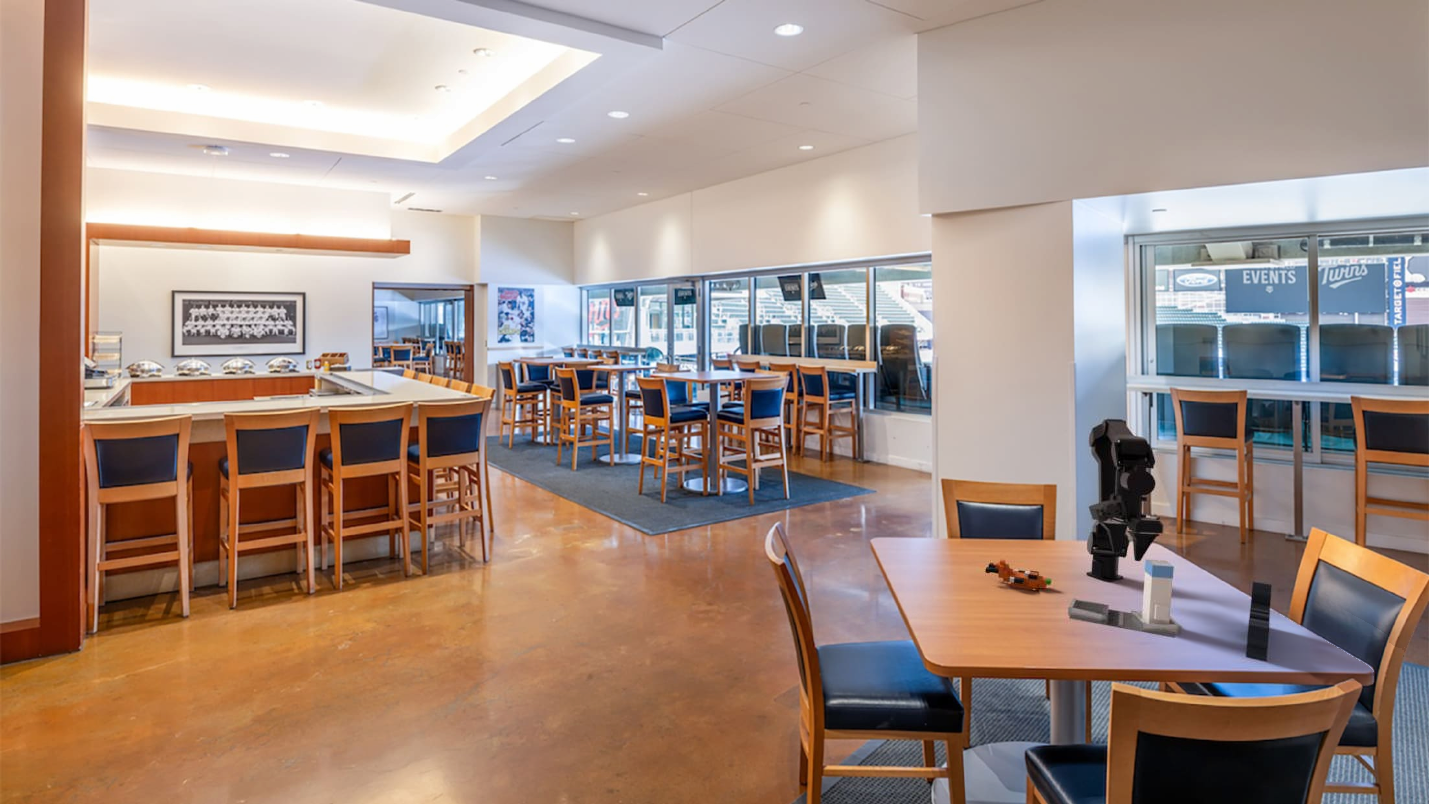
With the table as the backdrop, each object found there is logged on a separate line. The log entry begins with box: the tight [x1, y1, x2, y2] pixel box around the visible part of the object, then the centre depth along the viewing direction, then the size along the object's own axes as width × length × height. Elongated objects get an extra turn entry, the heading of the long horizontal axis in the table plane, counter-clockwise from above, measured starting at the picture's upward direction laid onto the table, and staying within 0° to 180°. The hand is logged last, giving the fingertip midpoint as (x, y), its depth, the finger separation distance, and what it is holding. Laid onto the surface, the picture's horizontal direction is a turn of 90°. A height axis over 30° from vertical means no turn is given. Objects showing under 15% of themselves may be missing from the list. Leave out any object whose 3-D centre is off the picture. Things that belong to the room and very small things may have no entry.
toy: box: [984, 558, 1052, 591], centre depth 185 cm, size 8×6×15 cm
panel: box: [1069, 607, 1176, 639], centre depth 162 cm, size 20×11×1 cm, turn 60°
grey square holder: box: [1067, 598, 1110, 622], centre depth 166 cm, size 7×7×2 cm
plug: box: [1141, 559, 1175, 624], centre depth 158 cm, size 5×4×14 cm
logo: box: [1245, 581, 1272, 662], centre depth 152 cm, size 24×3×10 cm, turn 142°
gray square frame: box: [1130, 610, 1182, 635], centre depth 159 cm, size 7×7×2 cm
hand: (1126, 556), depth 172 cm, fingers open, 9 cm apart
